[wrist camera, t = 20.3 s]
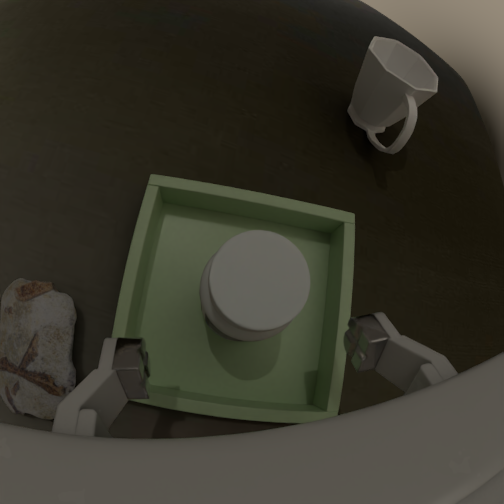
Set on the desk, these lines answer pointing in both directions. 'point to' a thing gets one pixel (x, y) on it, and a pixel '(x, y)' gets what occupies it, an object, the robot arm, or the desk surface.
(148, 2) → the desk surface
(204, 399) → the sage tray
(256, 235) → the pill bottle
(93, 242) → the desk surface
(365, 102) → the cup
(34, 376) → the stone
